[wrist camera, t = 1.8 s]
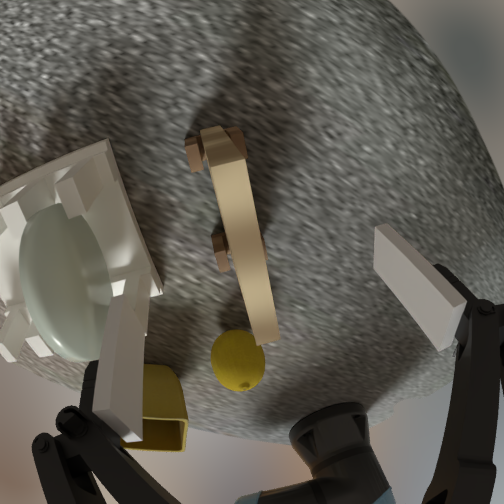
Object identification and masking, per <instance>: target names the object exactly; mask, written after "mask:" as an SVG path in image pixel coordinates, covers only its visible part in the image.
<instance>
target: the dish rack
mask: <svg viewBox="0 0 504 504" xmlns="http://www.w3.org/2000/svg"><path fill="white" fill-rule="evenodd" d="M57 203H62V205H63V207H64V210H65V212H66V214H67V217H68V219H71V218H74V217H76V216H79V215H82V216H83V217H84V219H85V220H86V221H87V223H88V225H89V226H90V228H91V230H92V231H93V233H94V235H95V237H96V239H97V241H98V244H99V246H100V248H101V251H102V254H103V256H104V259H105V262H106V266H107V269H108V273H109V277H110V281H111V285H112V290H113V296H118V295H122V294H125V296H126V298H127V299H128V301H129V303H130V305H131V307H132V309H133V311H134V312H135V314H136V316H137V318H138V320H139V321H140V323H141V325H142V327H143V328H144V330H145V336H147V328H148V314H149V302H150V297H153V296H157V295H161V294H163V284H162V282H161V280H160V277H159V275H158V273H157V270H156V268H155V266H154V263H153V261H152V258H151V256H150V253H149V251H148V248H147V246H146V243H145V241H144V238H143V236H142V233H141V231H140V228H139V225H138V223H137V220H136V217H135V215H134V212H133V209H132V207H131V204H130V201H129V198H128V196H127V193H126V190H125V187H124V184H123V181H122V178H121V175H120V172H119V169H118V166H117V163H116V160H115V157H114V154H113V151H112V148H111V145H110V142H109V138H107V139H104V140H101V141H99V142H96V143H93V144H91V145H88V146H85V147H83V148H80V149H78V150H75V151H73V152H71V153H68V154H66V155H63V156H61V157H59V158H56V159H54V160H52V161H50V162H47V163H45V164H43V165H41V166H39V167H36V168H34V169H32V170H30V171H28V172H26V173H24V174H22V175H20V176H18V177H16V178H14V179H12V180H10V181H8V182H6V183H4V184H2V185H0V297H1V299H2V300H3V302H4V303H5V305H6V306H7V308H6V310H5V312H4V314H5V315H6V317H7V318H6V320H5V322H4V324H3V326H2V328H1V330H0V353H1V355H2V356H3V357H4V358H5V359H6V361H7V362H15V361H17V360H18V357H19V354H20V352H21V349H22V346H23V344H24V341H25V340H26V341H27V342H28V344H29V345H30V346H31V348H32V349H33V350H34V351H35V353H36V354H37V355H38V356H39V357H45V356H50V355H54V350H53V349H52V348H51V347H50V346H49V345H48V344H47V343H46V341H45V340H44V339H43V337H42V336H41V334H40V333H39V331H38V330H37V328H36V326H35V324H34V322H33V320H32V318H31V316H30V313H29V311H28V308H27V305H26V302H25V299H24V296H23V291H22V287H21V281H20V274H19V248H20V242H21V237H22V234H23V231H24V228H25V226H26V224H27V222H28V220H29V219H30V218H31V216H32V215H33V214H34V213H36V212H37V211H39V210H41V209H44V208H46V207H49V206H51V205H54V204H57Z"/></svg>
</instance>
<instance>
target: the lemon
mask: <svg viewBox="0 0 504 504" xmlns="http://www.w3.org/2000/svg"><path fill="white" fill-rule="evenodd" d="M211 364H212V368H213V371H214V373H215V376H216V377H217V379H218V380H219V382H220V383H221V384H222V385H223V386H225V387H226V388H228V389H230V390H233V391H246V390H249V389H251V388H253V387H255V386H256V385H257V384H258V383H259V382H260V381H261V379H262V377H263V375H264V371H265V356H264V352H263V349H262V347H261V345H258V346H257V344H256V341H255V337H254V336H253V335H252V334H250V333H249V332H247V331H244V330H239V329H233V330H228V331H226V332H224V333H222V334H221V335H220V336H219V337H218V338H217V339H216V340H215V342H214V344H213V346H212V350H211Z"/></svg>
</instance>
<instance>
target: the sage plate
mask: <svg viewBox="0 0 504 504" xmlns="http://www.w3.org/2000/svg"><path fill="white" fill-rule="evenodd" d="M19 274H20V281H21V287H22V291H23V296H24V299H25V302H26V305H27V308H28V311H29V313H30V316H31V318H32V320H33V322H34V324H35V326H36V328H37V330H38V331H39V333H40V334H41V336H42V337H43V339H44V340H45V341H46V343H47V344H48V345H49V346H50V347H51V348H52V349H53V350H54V351H55V352H56V353H57V354H58V355H60V356H61V357H63V358H64V359H66V360H68V361H71V362H76V363H77V362H86V361H91V360H97V359H99V357H100V351H101V346H102V340H103V335H104V330H105V324H106V319H107V315H108V310H109V305H110V301H111V297H114V296H113V290H112V285H111V281H110V277H109V273H108V269H107V266H106V262H105V259H104V256H103V254H102V251H101V248H100V246H99V244H98V241H97V239H96V237H95V235H94V233H93V231H92V230H91V228H90V226H89V225H88V223H87V221H86V220H85V219H84V217H83V216H82V215H79V216H76V217H74V218H71V219H68V217H67V214H66V212H65V210H64V207H63V205H62V203H57V204H54V205H51V206H49V207H46V208H44V209H41V210H39V211H37V212H36V213H34V214H33V215H32V216H31V218H30V219H29V220H28V222H27V224H26V226H25V228H24V231H23V234H22V237H21V242H20V248H19Z"/></svg>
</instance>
